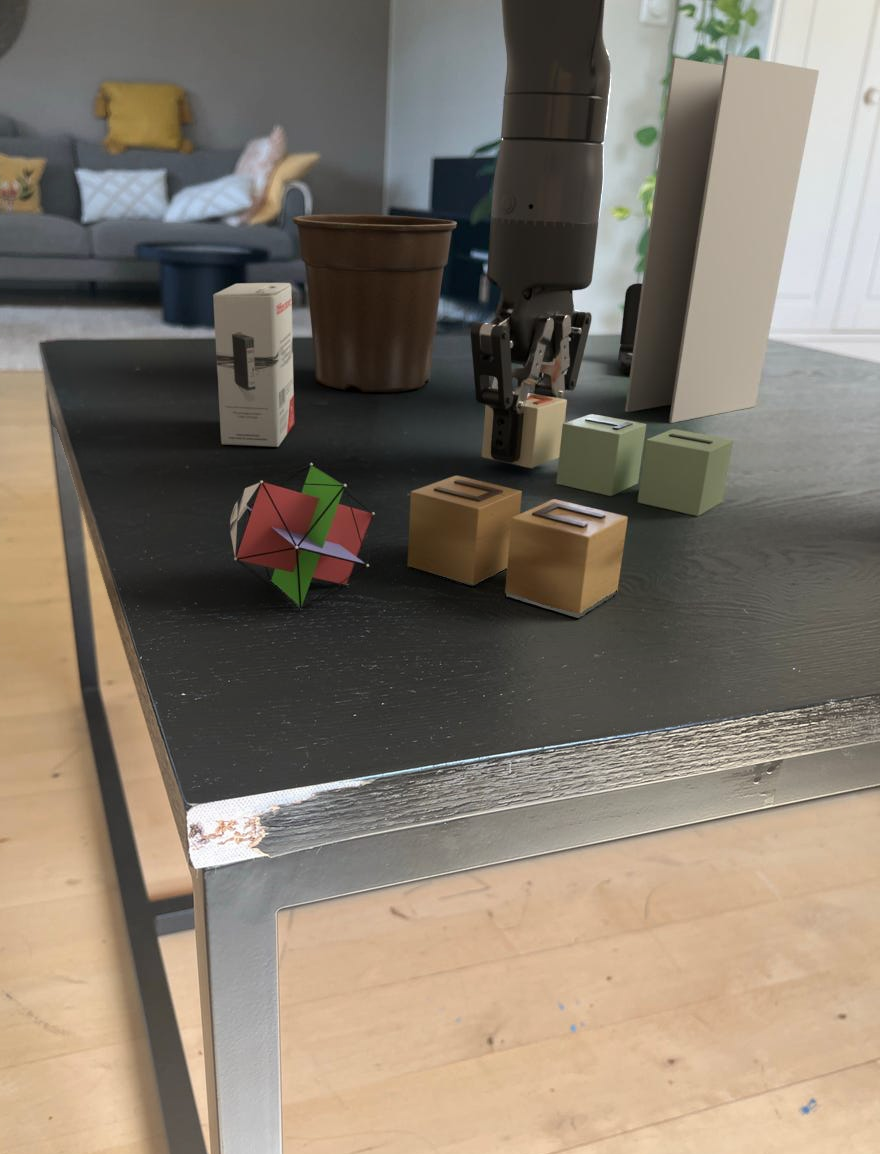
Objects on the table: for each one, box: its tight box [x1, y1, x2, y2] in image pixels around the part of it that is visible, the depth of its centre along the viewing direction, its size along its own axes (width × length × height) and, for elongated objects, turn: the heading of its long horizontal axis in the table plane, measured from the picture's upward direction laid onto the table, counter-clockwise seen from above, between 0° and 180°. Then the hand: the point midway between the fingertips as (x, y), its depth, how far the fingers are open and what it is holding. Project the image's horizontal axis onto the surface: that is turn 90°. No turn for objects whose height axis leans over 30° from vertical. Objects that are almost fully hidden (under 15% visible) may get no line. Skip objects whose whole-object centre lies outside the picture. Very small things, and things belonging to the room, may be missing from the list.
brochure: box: [624, 53, 820, 424], centre depth 92 cm, size 14×6×30 cm, turn 130°
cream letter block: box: [481, 390, 568, 469], centre depth 75 cm, size 4×4×5 cm
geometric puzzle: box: [229, 462, 376, 609], centre depth 51 cm, size 7×7×8 cm
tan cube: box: [407, 475, 523, 584], centre depth 56 cm, size 4×4×5 cm
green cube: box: [555, 413, 647, 497], centre depth 72 cm, size 4×4×5 cm
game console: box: [617, 282, 642, 375], centre depth 117 cm, size 16×14×9 cm
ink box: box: [212, 282, 295, 448], centre depth 80 cm, size 8×5×12 cm, turn 177°
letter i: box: [637, 428, 734, 517], centre depth 69 cm, size 4×4×5 cm
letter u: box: [504, 498, 629, 613], centre depth 52 cm, size 4×4×5 cm
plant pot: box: [292, 214, 458, 394], centre depth 102 cm, size 16×16×16 cm
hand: (522, 453), depth 76 cm, fingers closed on cream letter block, 4 cm apart
